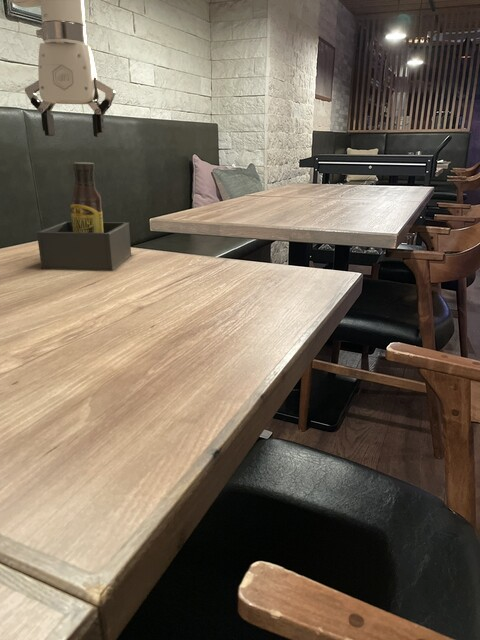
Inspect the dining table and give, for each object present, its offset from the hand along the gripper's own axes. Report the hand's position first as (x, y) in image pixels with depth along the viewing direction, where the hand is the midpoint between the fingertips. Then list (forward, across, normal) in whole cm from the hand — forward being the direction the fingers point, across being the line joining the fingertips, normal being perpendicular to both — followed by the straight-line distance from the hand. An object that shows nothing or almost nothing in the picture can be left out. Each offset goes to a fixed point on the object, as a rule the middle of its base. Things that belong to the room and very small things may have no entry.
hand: (74, 136), depth 96 cm
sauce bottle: (+25, +1, 0) cm, 25 cm away
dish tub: (+26, +1, 0) cm, 26 cm away
